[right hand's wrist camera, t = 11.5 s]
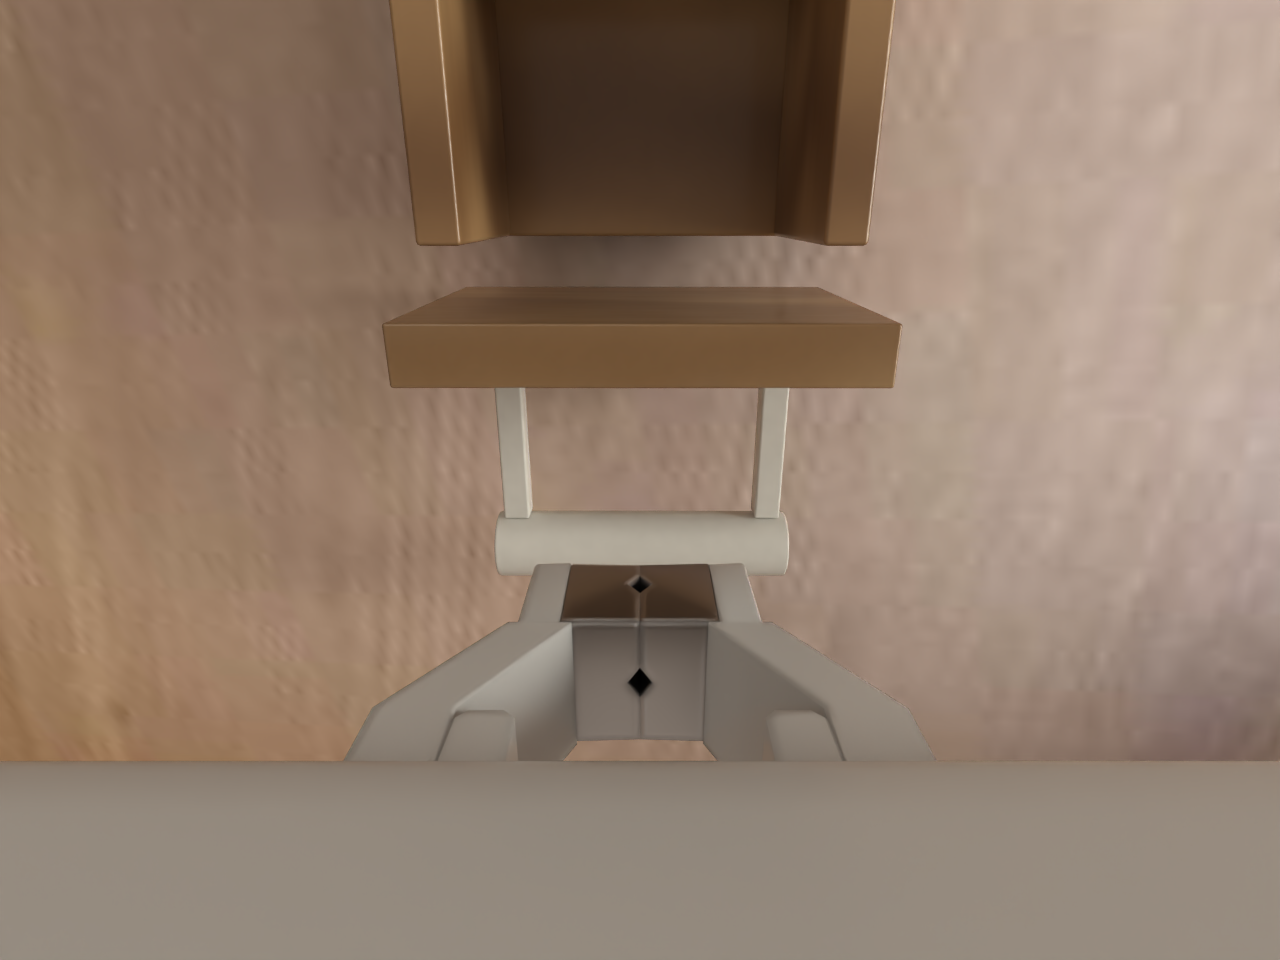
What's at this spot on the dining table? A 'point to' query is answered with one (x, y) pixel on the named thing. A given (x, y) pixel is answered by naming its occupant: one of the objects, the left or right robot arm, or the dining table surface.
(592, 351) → the drawer
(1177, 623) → the dining table surface
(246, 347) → the dining table surface
